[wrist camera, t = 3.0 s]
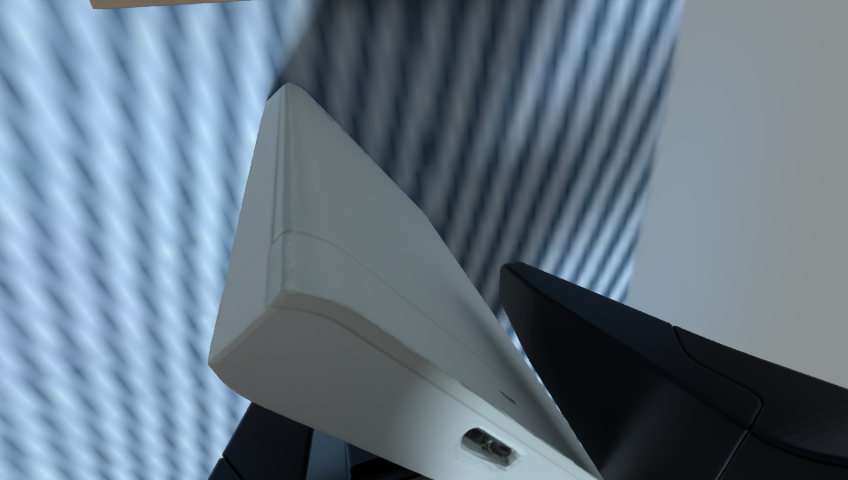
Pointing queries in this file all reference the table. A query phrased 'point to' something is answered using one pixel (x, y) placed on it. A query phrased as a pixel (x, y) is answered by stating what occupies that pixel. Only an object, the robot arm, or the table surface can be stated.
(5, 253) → the table surface
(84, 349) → the table surface
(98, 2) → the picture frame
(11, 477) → the table surface
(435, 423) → the external hard drive
